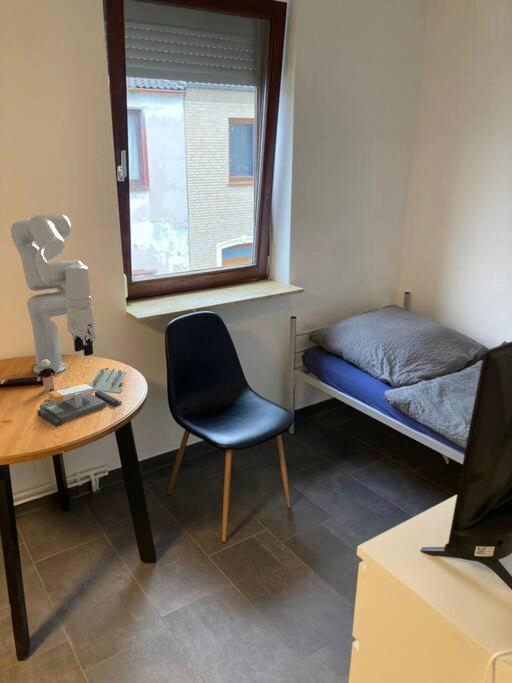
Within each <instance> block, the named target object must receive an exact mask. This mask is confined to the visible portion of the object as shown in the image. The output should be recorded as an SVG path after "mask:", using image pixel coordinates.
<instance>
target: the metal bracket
mask: <svg viewBox="0 0 512 683" xmlns="http://www.w3.org/2000/svg"><path fill="white" fill-rule="evenodd" d="M126 374H127V371H122V370H121V369H118V370H115V368H114V367H113V368H112V369H111V370H109V369H104V368H101V369H99V370H98V372H97V374H96V375H95V376H94V378H93V380H92V382H91V383H90V384H88V383H86V384H87V385H89V386H91V387H93V388H94V392H96V391H104V392H105V393H111V394H112V393H113V394H121V393H122V391H123V387H119V386H120V385H121V383H122V381H123V379H124V378H125V375H126Z"/></svg>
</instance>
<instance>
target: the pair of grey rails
mask: <svg viewBox="0 0 512 683" xmlns="http://www.w3.org/2000/svg"><path fill="white" fill-rule="evenodd" d="M94 396H96V397H97V398H99V399H101V400H103V401H105V404H108V405H109V406H112V407H113V408H115V407H117V406H120V405H123V404H122V400H121V399H119V398H117V397H115V396H113V395H111V394H109V393H108V392H104V391H94ZM37 415H38V416H39V417H41V419H43V420H44V421H46V422H48V423H49V424H50V425H53V427H55V428H57V427H60V426H62V424H61V420H60V419H58V418H56V417H55V416H53V415H52V414H50V413H49V412H47V411H45V410H44V409H40V408H39V409H38V410H37Z"/></svg>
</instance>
